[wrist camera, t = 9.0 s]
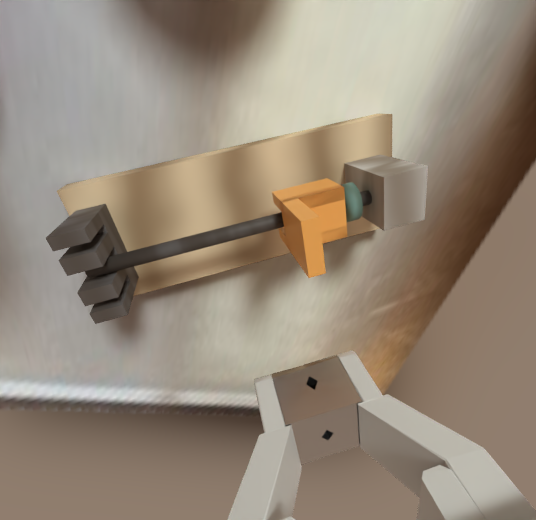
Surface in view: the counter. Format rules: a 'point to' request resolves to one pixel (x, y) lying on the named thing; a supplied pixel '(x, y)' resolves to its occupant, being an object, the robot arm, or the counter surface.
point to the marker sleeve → (311, 221)
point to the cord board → (224, 208)
